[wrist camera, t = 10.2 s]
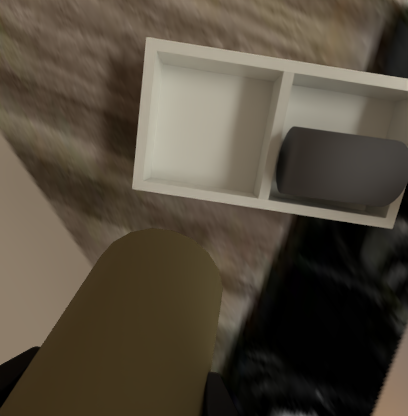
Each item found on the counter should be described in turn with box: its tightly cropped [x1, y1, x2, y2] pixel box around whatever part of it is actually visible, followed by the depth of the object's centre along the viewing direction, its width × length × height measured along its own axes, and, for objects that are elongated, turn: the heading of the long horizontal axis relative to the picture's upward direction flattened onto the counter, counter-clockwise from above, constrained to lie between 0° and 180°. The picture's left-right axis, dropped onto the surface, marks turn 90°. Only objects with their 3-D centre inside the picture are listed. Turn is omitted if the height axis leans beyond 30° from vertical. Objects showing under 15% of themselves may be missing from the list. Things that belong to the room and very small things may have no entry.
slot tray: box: [132, 37, 408, 229], centre depth 17 cm, size 16×8×3 cm, turn 81°
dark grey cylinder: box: [276, 126, 408, 207], centre depth 16 cm, size 6×4×4 cm, turn 82°
